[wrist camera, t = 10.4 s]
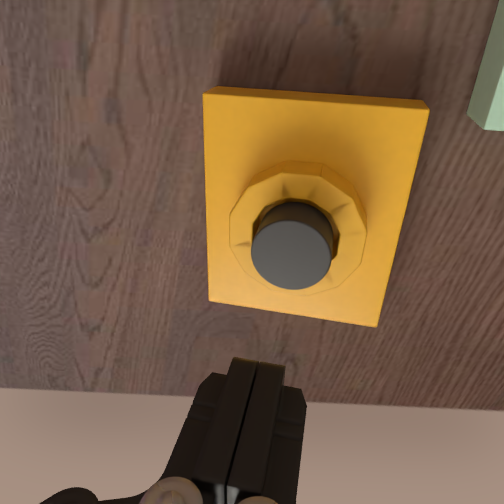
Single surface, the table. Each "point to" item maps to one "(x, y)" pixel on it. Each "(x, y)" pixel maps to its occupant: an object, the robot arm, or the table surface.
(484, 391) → the table surface
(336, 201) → the housing
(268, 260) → the dark grey push button
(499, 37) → the green dial base plate
